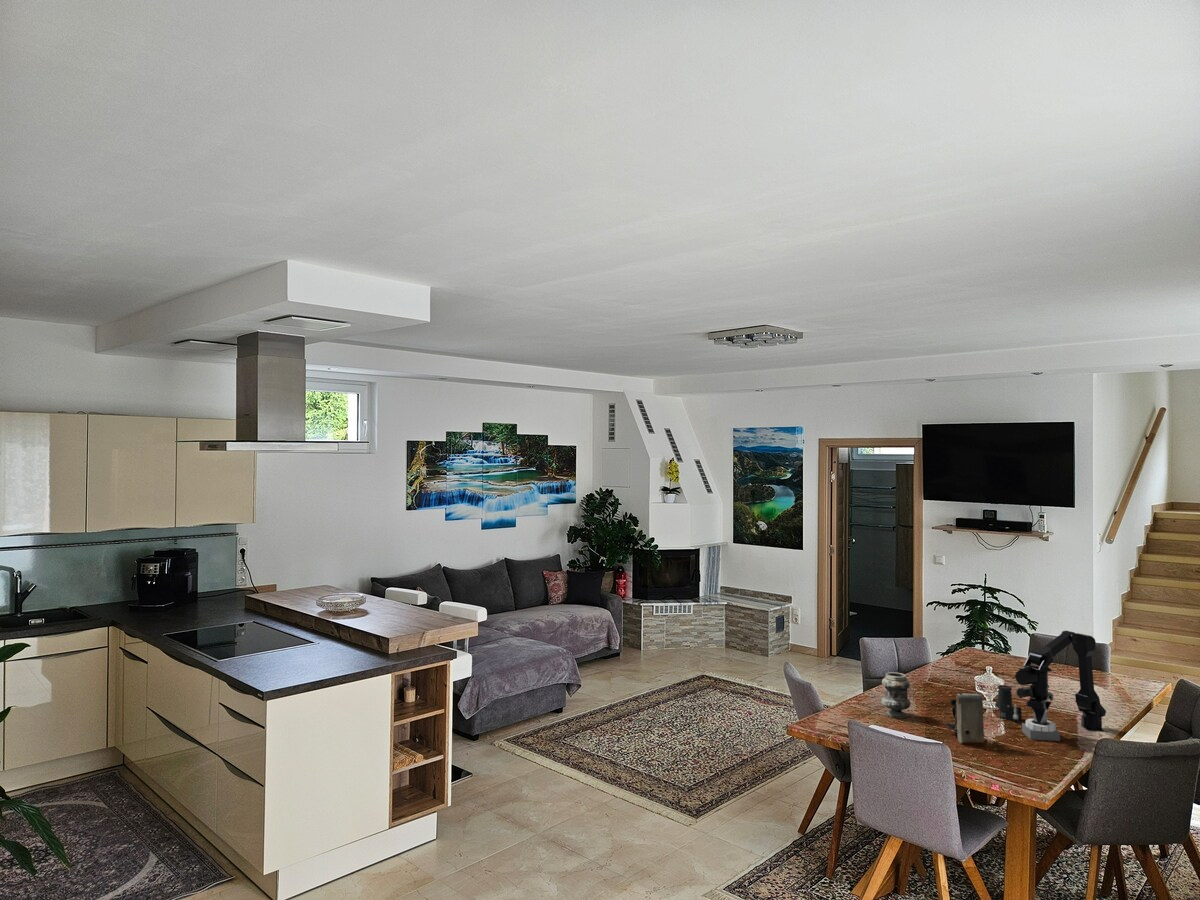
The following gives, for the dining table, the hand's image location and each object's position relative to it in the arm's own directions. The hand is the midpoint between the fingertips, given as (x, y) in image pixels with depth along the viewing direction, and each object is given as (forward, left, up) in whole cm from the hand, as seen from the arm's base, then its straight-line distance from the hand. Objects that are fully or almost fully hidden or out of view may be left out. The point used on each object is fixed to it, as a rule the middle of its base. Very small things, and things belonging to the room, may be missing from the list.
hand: (1040, 720), depth 323 cm
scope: (+6, -21, -6) cm, 23 cm away
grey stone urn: (+53, -18, -6) cm, 57 cm away
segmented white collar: (0, 0, -6) cm, 6 cm away
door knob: (0, 0, -2) cm, 2 cm away
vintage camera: (+32, +9, -6) cm, 34 cm away
